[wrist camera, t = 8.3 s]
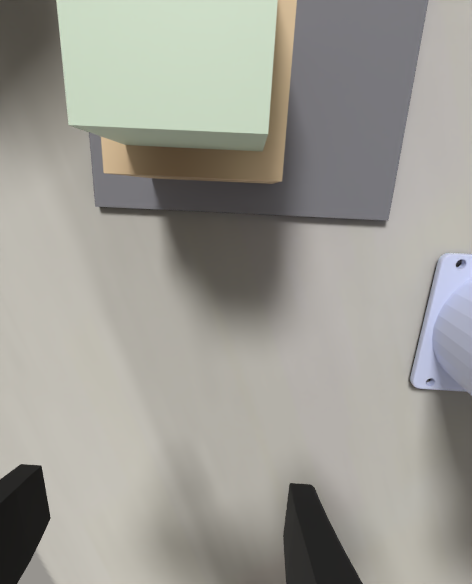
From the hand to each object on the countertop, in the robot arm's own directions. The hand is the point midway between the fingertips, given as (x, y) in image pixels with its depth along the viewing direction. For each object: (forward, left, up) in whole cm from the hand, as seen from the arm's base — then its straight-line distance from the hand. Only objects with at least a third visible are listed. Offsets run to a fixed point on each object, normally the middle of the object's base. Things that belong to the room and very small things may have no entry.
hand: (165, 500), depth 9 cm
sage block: (0, -12, -4) cm, 13 cm away
